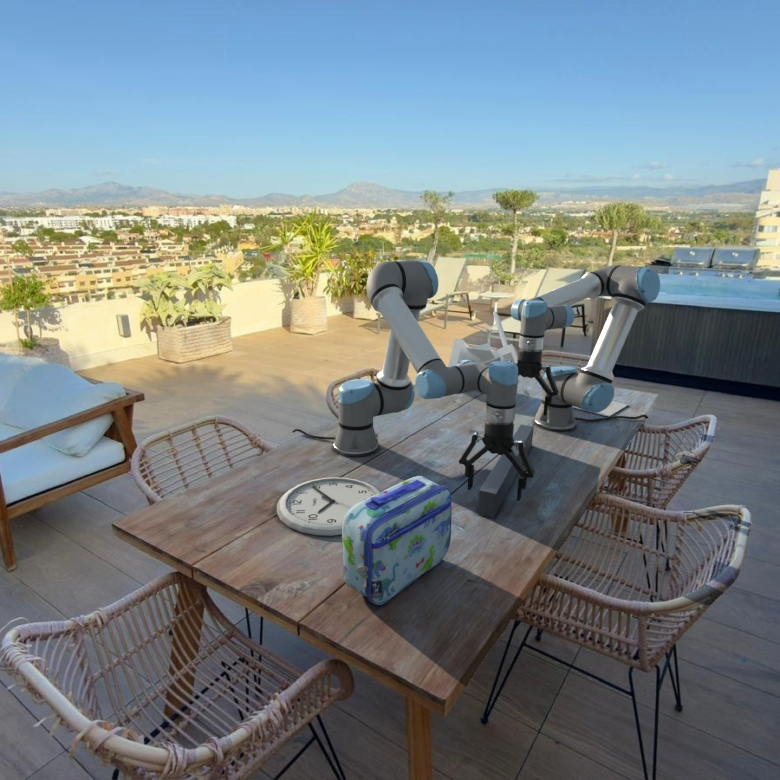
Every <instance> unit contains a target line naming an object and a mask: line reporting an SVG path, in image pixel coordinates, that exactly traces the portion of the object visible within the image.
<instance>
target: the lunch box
mask: <svg viewBox="0 0 780 780" xmlns="http://www.w3.org/2000/svg"><path fill="white" fill-rule="evenodd" d="M452 511H453V510H452V491H451V489H450V487H449V486H447V485H444V484H442V485H440V484H437V483H436V482H434V481H432V480H430V479H428V478H427V477H425V476H422V475H416V476H413V477H411V478H408V479H406V480H403V481H401V482H399V483H397V484H395V485H393V486H390V487H388V488H386V489H384V490H382V491H381V492H380V493H378V494H376V495H374V496H372V497H370V498H368V499H366V500H364V501H362V502H360V503H358V504H356V505H354V506H353V507H352V508H351V509H350V510H349V511H348V512H347V514H346V516H345V518H344V521H343V525H342V535H341V543H342V544H341V545H342V569H343V578H344V583H345V585H346V586H347V587H349V588H351V589H352V590H354V591H356V592H357V593H360V594H361V595H362V596H363V597H365V598H367V601H369V603H372V604H373V605H376V606H383V605H385V604H386V603H388V602H389V601H390V600H391V599H392V598H394V597H395V596H396V595H397V594H399V593H400V592H401V591H403V590H404V589H406V588H407V587H408V586H410V585H411V584H413V583H414V582H416V580H417V579H418V578H420V576H422V575H423V574H425V573H426V572H428V571H430V570H432V569H433V568H435V567H436V566H438V565H439V564H440V563H441V562H442V561H443V560H444V558H445V557H446V555H447V552H448V551H449V548H450V544H451V539H452V515H453V514H452Z"/></svg>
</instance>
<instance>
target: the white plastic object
mask: <svg viewBox="0 0 780 780" xmlns="http://www.w3.org/2000/svg"><path fill="white" fill-rule="evenodd" d="M492 315H493V319H494V321H495V324H496V325H495V326H496V328H497V332H498V335H499V338H500V342H501V345H502V347H500V348H498V349H496V350H495V349H493V348H492V347H491V346H490V344H489V343H488V342H487V343H483V344H479V345H473V346H469V345H468V343H466V342H465V340H464V339H463V338H460V339H458V338H454V340H453V344H452V349H451V353H450V357H449V362H448V366H447V367H451V366H456V365H457V364H458V363H460V362H461V361H462V360H470V361H476V362H478V363H481V364H484V365H487V366H489V365H490V363H492V362H494V361H505V362H509V361H513V362H515V363H517V361H518V352H517V349H516V347H515V346H514V345H513V343H511V344H508V341H507V337H506V334H505V331H504V328H503V325H502V321H501V318H500V315H499V314H498V312H497V311H496V310H495V311H492ZM518 380H519V382H520V385H521V389H522V391H523V393H524V395H525V396H526V397H528V396H531V395H530V390H529V388H528V387H529V386H528V384H527V381H526V377H522V376H521V375H519V376H518ZM516 399H517V394H516Z"/></svg>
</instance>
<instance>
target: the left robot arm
mask: <svg viewBox="0 0 780 780" xmlns="http://www.w3.org/2000/svg"><path fill="white" fill-rule="evenodd" d="M436 271H437V270H436V268H435V267H434V266H433V265H432V264H431V263H430V262H429V261H426V260H419V259H413V260H386V261H383V262H380V263H378V264H377V265H375V266H374V267H373V268H372V269H371V271H370V272H369V274H368V277H367V279H366V286H365V290H366V296H367V299H368V301H369V303H370V305H371V307H372V308H373V310H374V311H375V312H377V313H380V315H381V316H382V318H383V319H384V321H385V323H386V325H387V326H388V328H389V331H388V337H387V343H386V348H385V353H384V359H383V364H382V369H381V370H379V371H378V372H377V374H376V380H375V381H372V380H371V379H368V378H355V379H351V380H347V381H345V382H343V383H342V384H341V385H340V387H339V388H338V396H337V401H338V427H337V428H338V429H337V432H336V436H322V435H321V436H319V435H313V434H311V433H308V432H306V431H304V430H303V429H299V428H295V429H293V430H292V431H291V433H295V432H299V433H301V434H303V435H305V436H308V437H309V438H313V439H318V440H319V439H320V440H333V450H334V452H336V453H338V454H339V455H341V456H347V457H364V456H365V457H366V456H369V455H372V454H374V453H376V451H378V450H379V441H378V437H379V433H376V431H375V429H374V417H380V416H384V415H390V414H394V413H395V414H396V413H401V412H402V411H406V410H408V409H409V408H411V406H412V404H413V403H414V401H415V394H416V393H415V390H414V389H415V387H416V392H417V394H418V396H419V397H421V398H422V399H424V400H434V399H442V398H444V397H448V396H453V395H459V394H465V393H470V392H478V393H481V394H483V395H486V400H485V401H486V403H485V421H484V431H483V432H484V433H483V434H480V433H479V432H478V431H475V432H474V433H473V434H472V436H471V440H470V443H469V444H468V446H467V448H466V449H465V450H464V453H463V454H462V455H461V457H460V458H459V460H458V464H460V465H463V466H464V477H465V478H467V491H471V490H472V488H473V487H474V475H475V474H474V473H475V464H474V463H475V462H477V461H478V460H479V459H480V458H481V457H482V456H484V455H485V454H486V453H487V452H488V453H490V454H493V455H494V454H497V455H499V456H501V455H503V454H505V456H506V457H507V458H508V459H509V460H510V461H511V463H512V464H513V466H514V467H515V468H516V470H517V471H518V473H517V474H519V476H518V480H517V481H518V482H517V491H516V501H519V502H520V500H521V498H522V495H523V490H525V489H526V487H527V485H528V478H530V479H532V478H534V476H535V473H536V471H535V468H534V466H533V463H532V461H531V459H530V456H529V454H527V451H526V449H525V441H524V440H521V441H514V439H513V436H514V429H515V422H514V421H515V420H516V419H515V418H516V407H517V405H516V402H517V398H516V395H517V394H518V393H517V392H518V384H519V376H518V367H517V365H516V364H514V363H512V362H513V361H512V362H509V361H507V362H505V361H494V362H492V363H490V365H489V366H487V365H484V364H481V363H478V362H476V361H470V360H462V361H461V362H460V363H458V364H457V365H456V366H451V367H448V366H447V365H446V364H445V362H444V361H443V359H442V358H441V357H440V355H439V354H438V352H437V350H436V349H435V347H434V345H433V343H432V342H431V341H430V339H429V338H428V335H427V334H426V332H425V330H423V328H422V327H421V325H420V324H419V320H420V315H421V311H423V310H425V309H426V308H427V303H428V300H429V299H432V298H433V297H435V296H436V294H437V293H438V290H439V275H438V274H437V272H436ZM410 364H411V366H412V367H413V369H414V370H415V372H416V376H415V380H414V384H413V382H412V380H411V377H410V376H409V375H408V374H409V367H410ZM414 385H415V387H414ZM307 433H308V434H307ZM480 441H481V442H482V443H483V445H484V446H483V447H482V448H481V449H479V450H478V451H477V452H476V453H475V454H474V455H472V456H471V457H470V458H469V459H467V458H468V457H469V455H470V454H471V452H472V451H473V449H474V447H475V446H476V444H477V443H480ZM513 445H514V446H516V448H517V449H518V450H519V453H520V456H521V458H522V461H523V463H522V464H521V462H520V461H519V459H518V458H517V457H516V455H515V454H514V451H513V450H512V447H513Z"/></svg>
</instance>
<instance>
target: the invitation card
mask: <svg viewBox="0 0 780 780" xmlns="http://www.w3.org/2000/svg"><path fill="white" fill-rule="evenodd" d="M628 406H629V404H627V403H623V402H618V401H614V400H612V402H611V403H610V405H609V406H608V407H607V408H606V409H605V410H602V411H601V412H598V413H595V414H596V415H600V416H604V417H611V416H614V414H616V413H617V412H619V411H621V410H623V409H624V408H626V407H628ZM573 409H575V410H581V411H584V412H586V411H585V410H583V409H581V408H578V407H575V406H573ZM587 413H593V412H590V411H587ZM593 414H594V413H593Z"/></svg>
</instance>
